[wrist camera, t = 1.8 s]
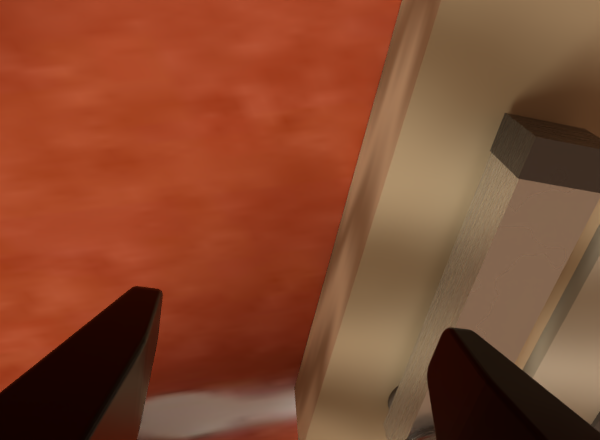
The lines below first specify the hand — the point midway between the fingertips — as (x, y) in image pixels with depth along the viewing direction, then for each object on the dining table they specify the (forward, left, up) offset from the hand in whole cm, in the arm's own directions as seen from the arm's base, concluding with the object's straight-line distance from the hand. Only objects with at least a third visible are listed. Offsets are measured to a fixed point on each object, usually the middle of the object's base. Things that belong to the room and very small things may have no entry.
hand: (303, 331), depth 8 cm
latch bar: (-5, -8, -9) cm, 12 cm away
